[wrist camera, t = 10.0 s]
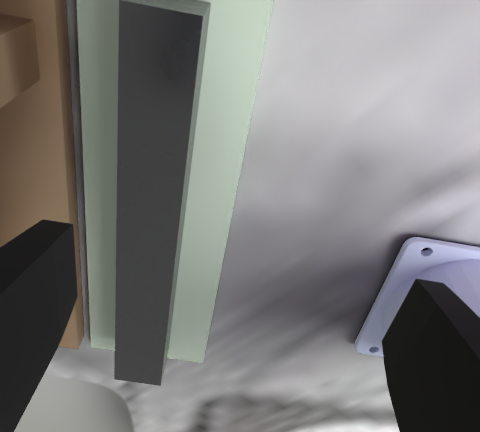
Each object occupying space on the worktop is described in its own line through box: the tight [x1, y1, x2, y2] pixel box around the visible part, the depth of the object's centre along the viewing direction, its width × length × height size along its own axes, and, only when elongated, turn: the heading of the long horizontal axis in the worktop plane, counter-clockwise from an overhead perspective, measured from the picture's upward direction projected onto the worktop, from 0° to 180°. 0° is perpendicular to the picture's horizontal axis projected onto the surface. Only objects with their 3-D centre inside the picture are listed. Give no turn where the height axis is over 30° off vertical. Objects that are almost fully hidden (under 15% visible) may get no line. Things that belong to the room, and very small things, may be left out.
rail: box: [115, 0, 211, 386], centre depth 18 cm, size 2×18×2 cm, turn 170°
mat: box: [76, 0, 274, 363], centre depth 19 cm, size 6×20×1 cm, turn 170°
